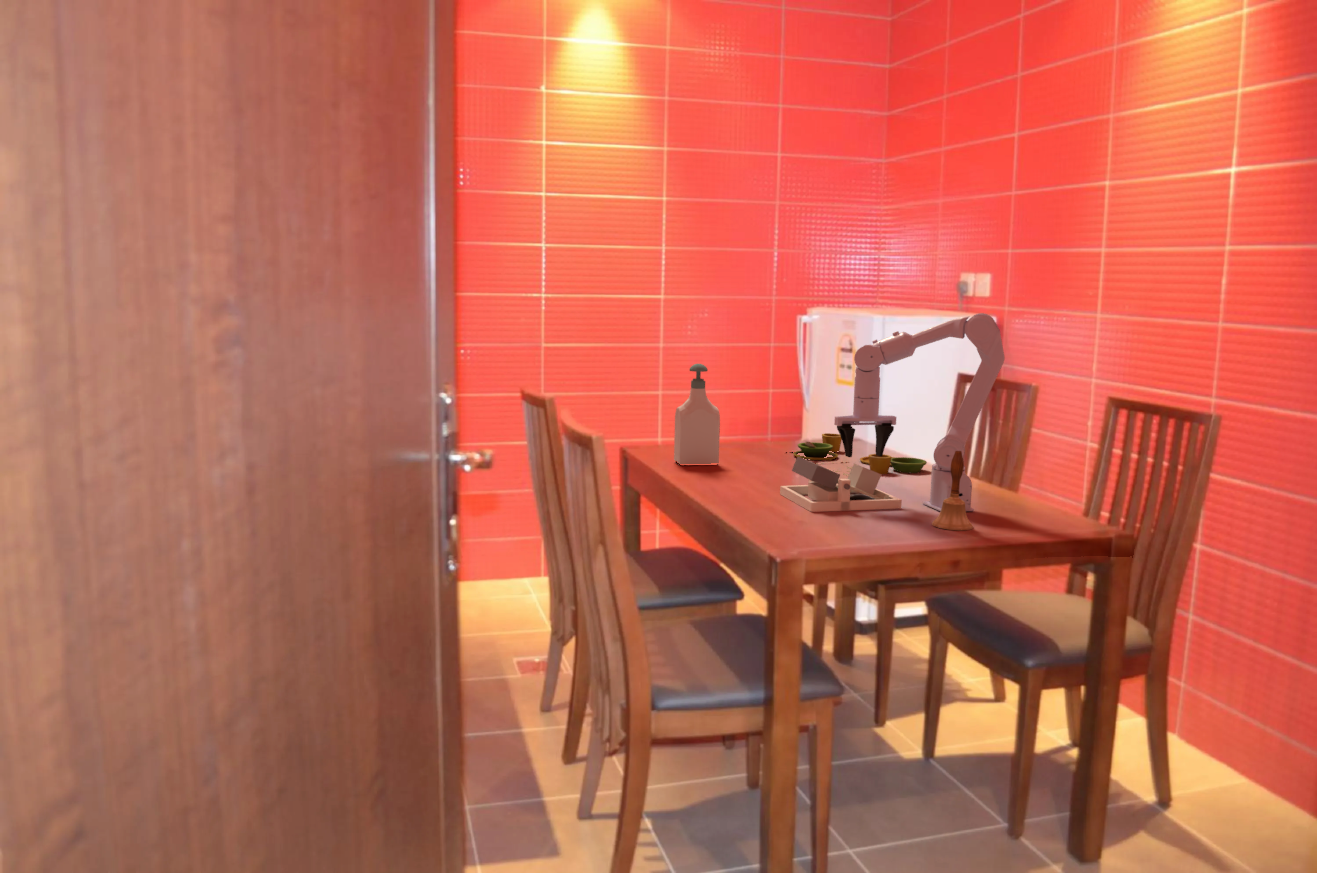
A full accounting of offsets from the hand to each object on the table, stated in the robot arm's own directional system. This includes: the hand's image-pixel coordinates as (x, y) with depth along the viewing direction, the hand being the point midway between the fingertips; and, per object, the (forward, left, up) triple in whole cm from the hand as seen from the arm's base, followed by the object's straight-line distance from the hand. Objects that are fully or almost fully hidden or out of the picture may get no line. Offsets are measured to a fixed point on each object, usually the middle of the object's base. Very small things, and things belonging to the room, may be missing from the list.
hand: (863, 456), depth 243 cm
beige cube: (0, +1, -8) cm, 8 cm away
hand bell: (-27, -8, -11) cm, 30 cm away
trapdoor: (0, +7, -8) cm, 10 cm away
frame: (0, +5, -10) cm, 12 cm away
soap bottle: (+53, +25, -11) cm, 59 cm away
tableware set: (+49, -20, -11) cm, 54 cm away
